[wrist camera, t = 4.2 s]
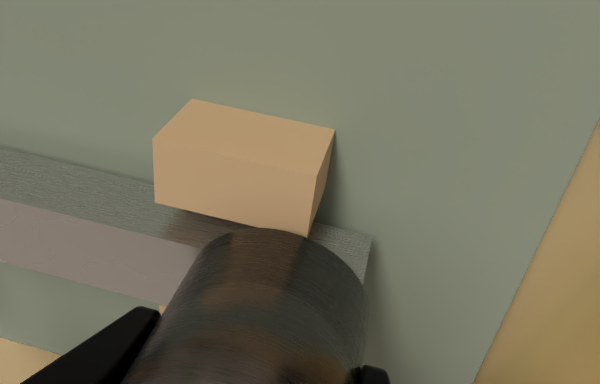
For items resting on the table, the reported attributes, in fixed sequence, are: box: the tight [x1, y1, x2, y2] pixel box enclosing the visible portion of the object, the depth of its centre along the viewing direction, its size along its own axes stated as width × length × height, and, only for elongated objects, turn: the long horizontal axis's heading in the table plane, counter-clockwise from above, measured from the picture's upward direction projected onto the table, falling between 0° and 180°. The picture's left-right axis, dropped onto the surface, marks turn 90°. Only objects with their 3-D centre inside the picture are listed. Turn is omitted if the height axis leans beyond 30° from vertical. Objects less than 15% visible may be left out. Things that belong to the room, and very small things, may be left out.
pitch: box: [0, 0, 600, 384], centre depth 13 cm, size 23×14×2 cm, turn 83°
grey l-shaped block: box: [0, 148, 372, 384], centre depth 10 cm, size 12×4×6 cm, turn 83°
